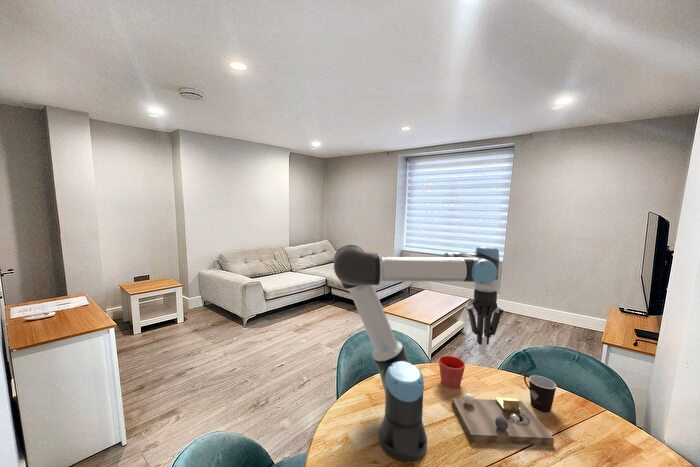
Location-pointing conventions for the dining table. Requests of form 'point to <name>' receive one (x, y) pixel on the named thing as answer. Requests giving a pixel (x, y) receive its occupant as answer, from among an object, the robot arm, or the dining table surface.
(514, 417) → the steel ball
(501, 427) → the grey ball
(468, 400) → the cream ball
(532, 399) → the coffee mug
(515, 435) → the board
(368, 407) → the dining table surface
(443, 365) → the flower pot
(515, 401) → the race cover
